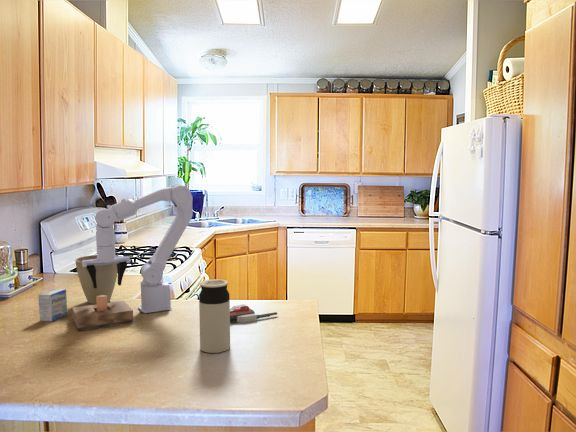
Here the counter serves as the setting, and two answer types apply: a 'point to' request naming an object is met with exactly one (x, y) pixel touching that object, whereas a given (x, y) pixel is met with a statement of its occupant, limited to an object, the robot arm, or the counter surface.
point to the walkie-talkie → (245, 314)
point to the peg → (101, 303)
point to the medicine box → (52, 305)
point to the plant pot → (97, 279)
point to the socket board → (102, 316)
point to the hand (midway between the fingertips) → (107, 286)
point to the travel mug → (214, 316)
